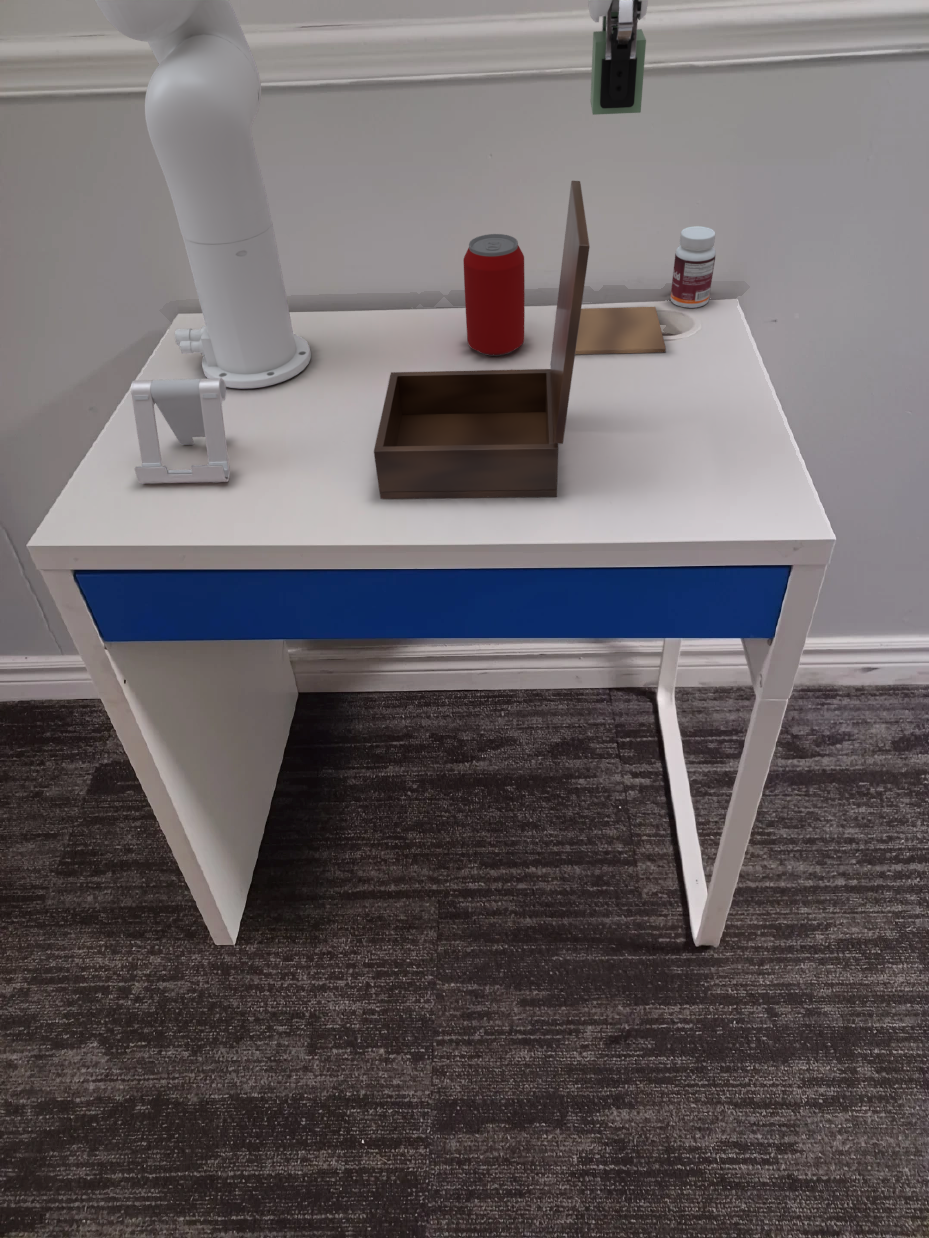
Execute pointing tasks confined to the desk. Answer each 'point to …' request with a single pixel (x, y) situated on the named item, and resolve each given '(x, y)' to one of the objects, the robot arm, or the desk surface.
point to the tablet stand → (181, 427)
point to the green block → (597, 57)
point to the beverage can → (494, 294)
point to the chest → (467, 435)
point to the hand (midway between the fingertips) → (615, 97)
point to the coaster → (619, 331)
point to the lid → (568, 308)
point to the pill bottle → (693, 267)
